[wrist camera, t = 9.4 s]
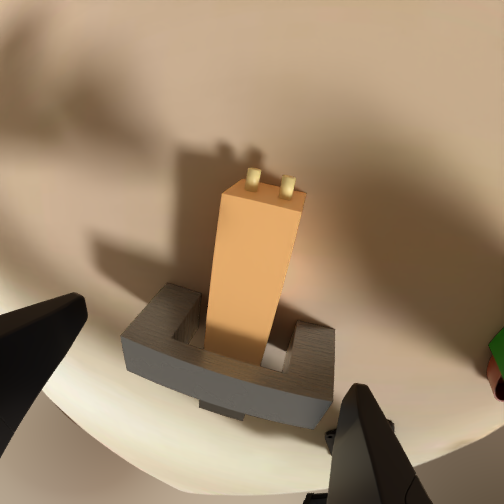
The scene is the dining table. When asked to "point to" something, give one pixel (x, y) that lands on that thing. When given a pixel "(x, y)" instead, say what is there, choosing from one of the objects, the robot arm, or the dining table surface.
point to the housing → (230, 364)
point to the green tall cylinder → (497, 366)
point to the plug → (249, 268)
